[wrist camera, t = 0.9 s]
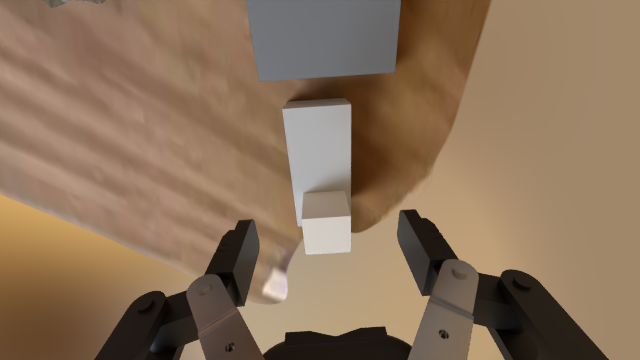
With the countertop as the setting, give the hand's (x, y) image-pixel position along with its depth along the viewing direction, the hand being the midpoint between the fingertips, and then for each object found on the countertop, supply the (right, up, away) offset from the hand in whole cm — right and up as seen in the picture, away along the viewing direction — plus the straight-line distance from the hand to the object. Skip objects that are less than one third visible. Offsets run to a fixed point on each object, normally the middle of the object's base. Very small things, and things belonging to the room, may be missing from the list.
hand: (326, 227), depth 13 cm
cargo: (0, 0, +11) cm, 11 cm away
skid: (0, +5, +12) cm, 13 cm away
